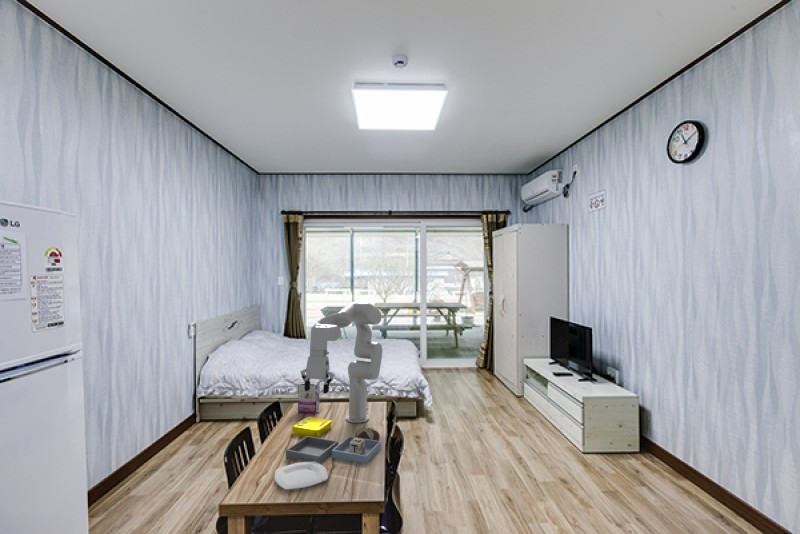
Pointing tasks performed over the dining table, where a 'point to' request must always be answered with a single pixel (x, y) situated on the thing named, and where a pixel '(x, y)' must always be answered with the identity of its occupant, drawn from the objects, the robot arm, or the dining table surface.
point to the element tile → (311, 427)
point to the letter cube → (357, 446)
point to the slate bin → (343, 453)
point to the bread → (368, 434)
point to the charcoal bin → (311, 449)
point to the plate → (300, 475)
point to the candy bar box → (308, 398)
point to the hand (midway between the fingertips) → (316, 391)
